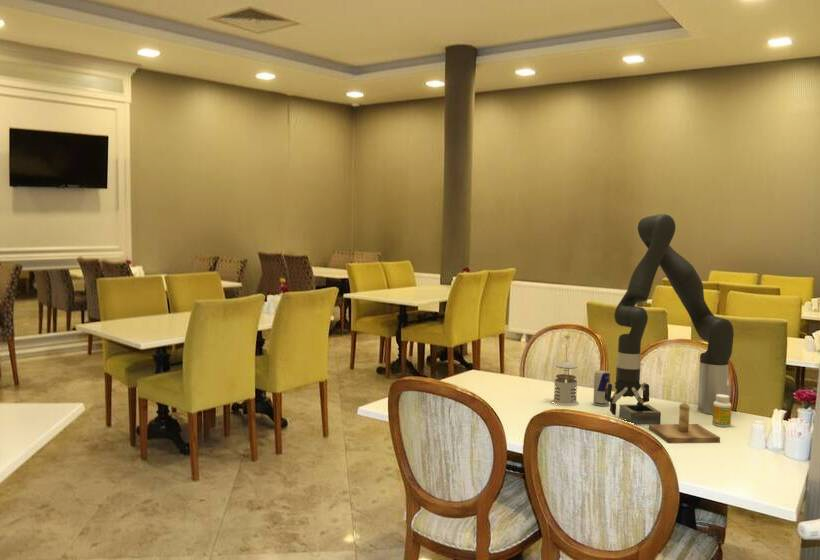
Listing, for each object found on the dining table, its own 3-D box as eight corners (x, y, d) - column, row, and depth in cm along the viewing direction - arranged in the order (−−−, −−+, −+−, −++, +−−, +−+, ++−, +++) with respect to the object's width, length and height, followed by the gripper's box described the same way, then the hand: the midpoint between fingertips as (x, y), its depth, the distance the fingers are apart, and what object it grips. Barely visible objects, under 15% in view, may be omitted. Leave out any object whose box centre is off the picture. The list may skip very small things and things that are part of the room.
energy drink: (609, 407, 249) (610, 373, 248) (593, 406, 250) (595, 372, 249) (608, 403, 255) (609, 370, 254) (593, 402, 256) (594, 369, 255)
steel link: (647, 415, 238) (648, 404, 238) (660, 424, 228) (660, 412, 228) (619, 416, 238) (619, 404, 237) (630, 424, 228) (630, 412, 227)
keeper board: (697, 428, 224) (698, 397, 223) (719, 442, 210) (721, 408, 209) (648, 429, 223) (650, 397, 222) (667, 442, 209) (669, 409, 208)
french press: (550, 405, 251) (552, 335, 249) (552, 397, 262) (554, 331, 260) (578, 407, 249) (581, 337, 247) (579, 399, 260) (581, 332, 258)
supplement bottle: (720, 427, 226) (721, 398, 225) (708, 423, 231) (710, 394, 230) (734, 426, 227) (735, 397, 226) (722, 422, 232) (724, 393, 231)
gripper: (645, 363, 236) (642, 411, 237) (603, 363, 235) (601, 411, 236) (654, 368, 228) (651, 417, 229) (611, 368, 227) (609, 417, 229)
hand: (626, 414), depth 233 cm, fingers open, 8 cm apart
